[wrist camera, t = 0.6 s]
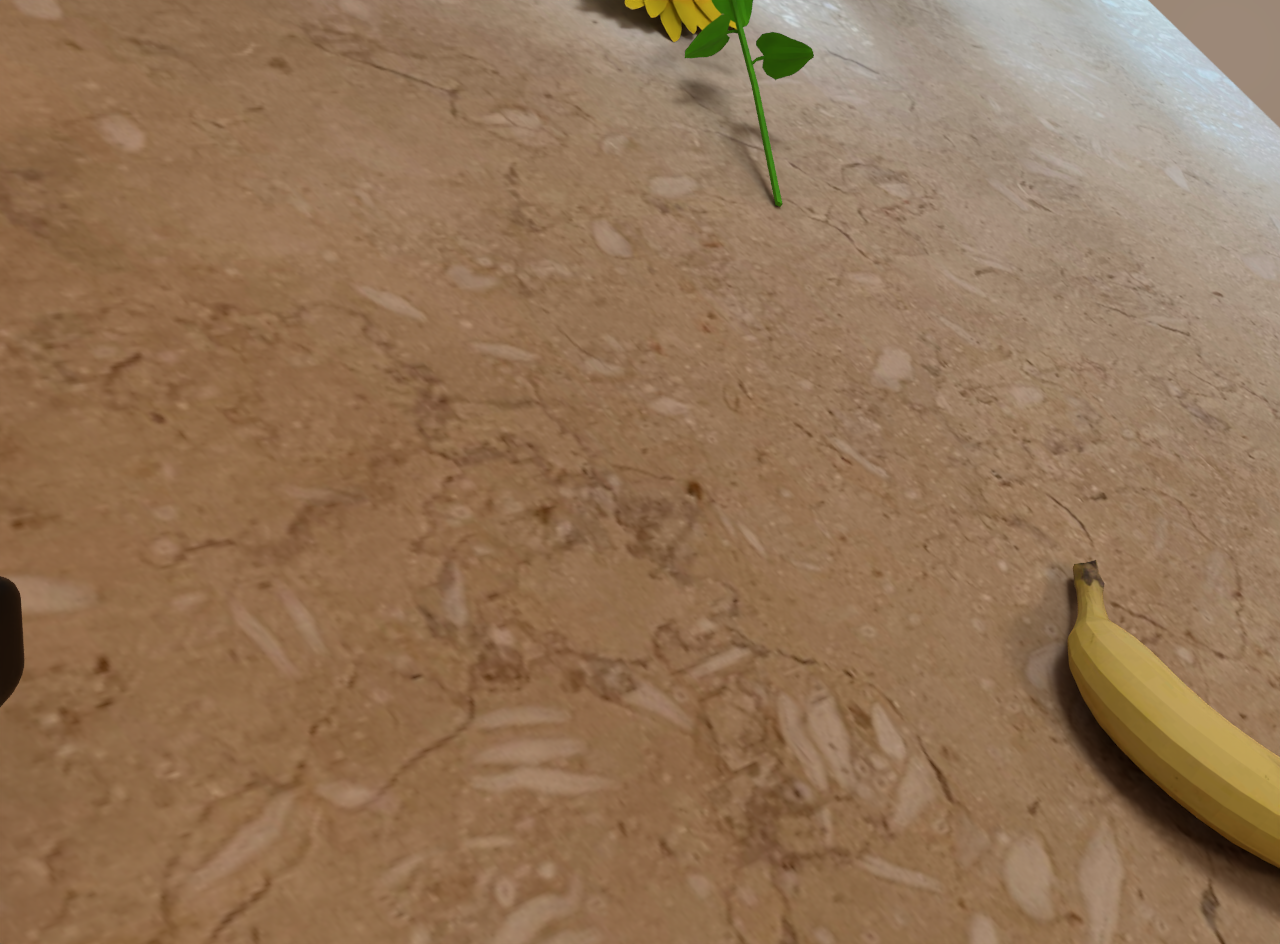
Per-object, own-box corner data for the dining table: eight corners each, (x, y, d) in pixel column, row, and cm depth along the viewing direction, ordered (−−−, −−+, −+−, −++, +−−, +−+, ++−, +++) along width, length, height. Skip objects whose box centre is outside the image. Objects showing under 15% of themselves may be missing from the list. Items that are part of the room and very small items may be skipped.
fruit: (1073, 567, 38) (1119, 510, 36) (1439, 853, 33) (1517, 805, 31) (970, 662, 34) (1015, 602, 32) (1375, 1013, 28) (1461, 968, 26)
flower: (808, 296, 60) (721, -66, 73) (915, 197, 53) (798, -180, 66) (618, 246, 54) (561, -138, 67) (712, 128, 47) (628, -271, 60)
